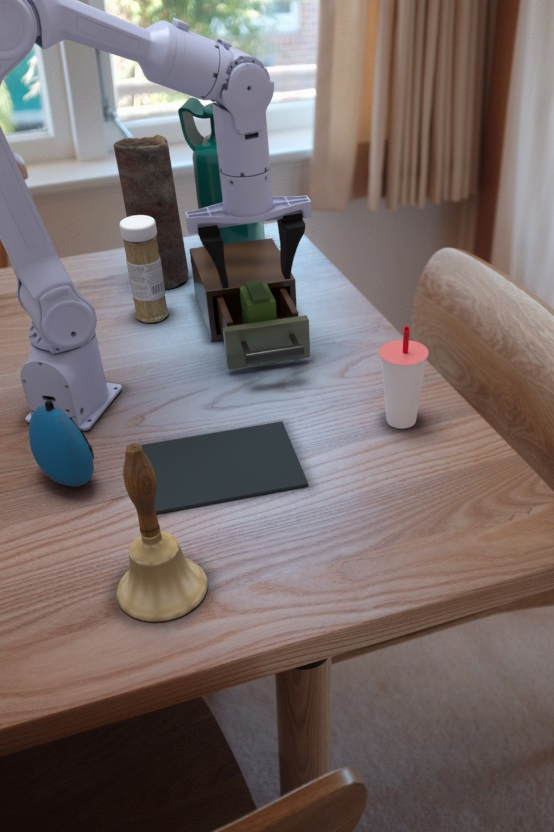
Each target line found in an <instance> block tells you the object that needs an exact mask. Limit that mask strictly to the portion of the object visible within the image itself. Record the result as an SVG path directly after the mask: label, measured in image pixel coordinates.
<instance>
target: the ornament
mask: <svg viewBox="0 0 554 832" xmlns="http://www.w3.org/2000/svg"><path fill="white" fill-rule="evenodd" d="M28 439H29V446H30V450H31V453H32V456H33V458H34V461H35V462H36V464H37V465H38V467H39V468H40V470H41V471H42V472H43V473H44V474H45V475H46V476H48V477H49V478H50V479H51V480H53V481H54V482H55V483H57V484H60V485H63V486H68V487H80V486H83V485H86V484H87V483H89V481H91V478H92V476H93V474H94V470H95V468H94V460H95V453H94V451H93V445H91V443H90V441H89V440H88V438H87V437H86V434H85V433H84V430H82V429H79V428H78V426H77V425H76V424H75V422H74V421H73V419H72V417H68V416H67V415H65V414H64V413H63V412H62V411H60V410H59V409H57V408H55V407H54V404H53V402H52V401H50V400H48V401H46V402H45V406H40V407H38V408H37V409H36V410H35V411H34V412H33V414H32V416H31V419H30V423H29V424H28Z"/></svg>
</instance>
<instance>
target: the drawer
mask: <svg viewBox="0 0 554 832" xmlns="http://www.w3.org/2000/svg"><path fill="white" fill-rule="evenodd" d="M270 291H271V293H272V295H273V297H274V299H275V301H276V314H277V320H270V321H263V322H256V323H249V324H243V320H242V308H241V297H240V293H234V294H227V295H220V296H213V297H214V306H215V315H216V321H217V324H218V327H219V329H220V332H221V335H222V337H223V340H222V341H223V342H224V343H223V344H224V354H225V364H226V367H227V370H228V371H231V370H238V369H243V368H250V367H251V368H252V367H256V366H257V367H258V366H264V365H270V364H276V363H283V362H290V361H296V360H304V359H309V358H311V344H310V343H311V342H310V341H311V339H310V338H311V337H310V319H309V317H308V315H306V314H304V315H299V312H298V311H299V310H298V309H296V307H295V305H294V303H293V302H292V300H291V298H290V296H289V294H288V292H287V290H286V288H285V287H278V288H271V289H270Z"/></svg>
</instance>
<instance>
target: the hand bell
mask: <svg viewBox="0 0 554 832" xmlns="http://www.w3.org/2000/svg"><path fill="white" fill-rule="evenodd" d="M141 445H142V444H140V443H137V442H133V443H129V444H128V445H127V446H126V447H125V453H124V455H125V456H124V462H123V467H122V478H123V482H124V486H125V487H124V488H125V490H126V493H127V495H128V497H129V499H130V501H131V503H132V505H134V507H135V510H136V513H137V519H138V525H139V533H140V535H138V536H137V537H136V538H135V539H133V541H132V542H131V543H130V545H129V547H128V548H129V549H128V559H129V561H128V562H129V565H128V570H127V571H126V572H125V574H124V575H123V576H122V577H121V579H120V581H119V582H118V585H117V590H116V600H117V603H118V606H119V607H120V608H121V609H122V611H123V612H124V613H126V615H128V616H130V617H131V618H134V619H137V620H140V621H143V622H152V623H153V622H155V623H157V622H167V621H171V620H175V619H177V618H181V617H182V616H183V617H184V616H185V615H187V614H188V613H190V612H191V611H192V610H194V609H195V608H196V607H198V606H199V605H200V603H201V602H202V601H203V600H204V598H205V597H206V594H207V592H208V586H209V580H208V576H207V574H206V572H205V571H204V569H203V568H202V567H201V565H199V564H198V563H197V562H195V561H193V560H192V559H190V558H187V557H186V556H185V555H184V552H183V550H182V547H181V545H180V542H179V540H178V538H177V537H176V536H175V535H174V534H172V533H170V532H168V531H165V530H161V526H160V524H159V520H158V514H156V511H155V499H156V491H157V485H156V477H155V472H154V469H153V466H152V464H151V462H150V461H149V459H148V457H147V456H146V454H145V453H144V451H143V449H142V447H141Z"/></svg>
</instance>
